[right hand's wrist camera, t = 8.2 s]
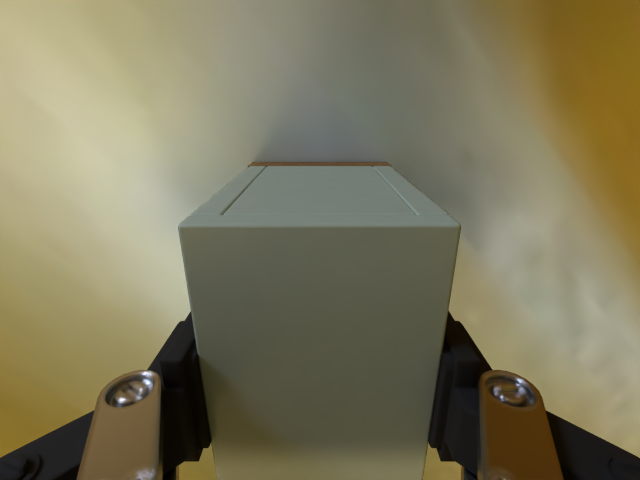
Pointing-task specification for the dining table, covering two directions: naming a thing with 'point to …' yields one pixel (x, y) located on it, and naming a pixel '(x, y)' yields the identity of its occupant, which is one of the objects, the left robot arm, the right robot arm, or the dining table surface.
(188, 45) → the dining table surface
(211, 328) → the cabinet
